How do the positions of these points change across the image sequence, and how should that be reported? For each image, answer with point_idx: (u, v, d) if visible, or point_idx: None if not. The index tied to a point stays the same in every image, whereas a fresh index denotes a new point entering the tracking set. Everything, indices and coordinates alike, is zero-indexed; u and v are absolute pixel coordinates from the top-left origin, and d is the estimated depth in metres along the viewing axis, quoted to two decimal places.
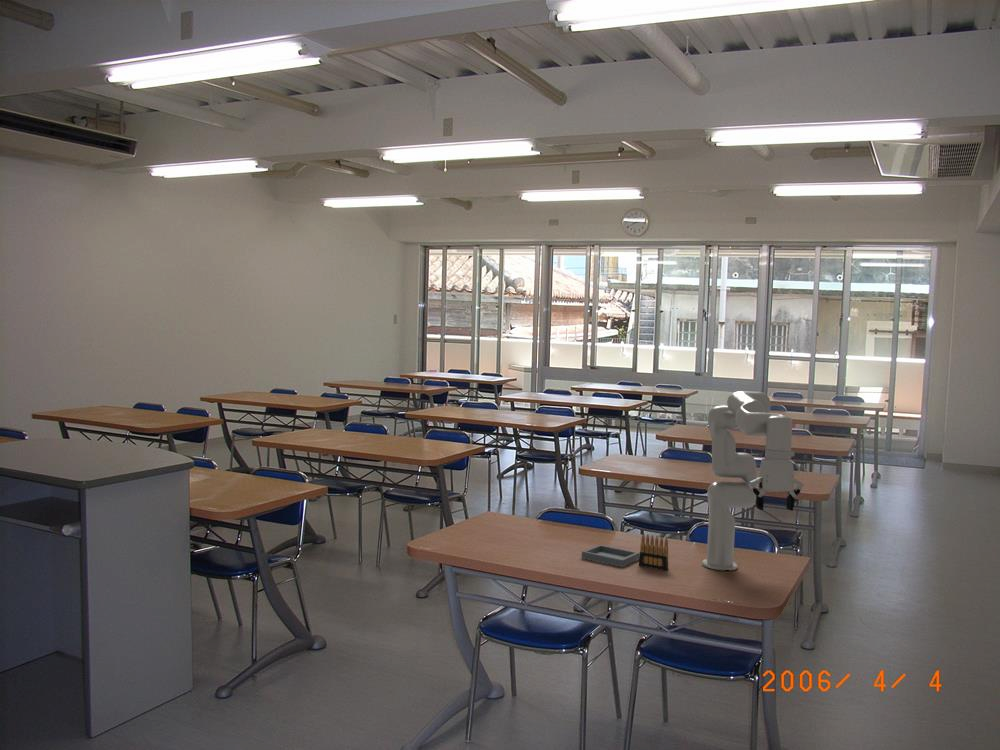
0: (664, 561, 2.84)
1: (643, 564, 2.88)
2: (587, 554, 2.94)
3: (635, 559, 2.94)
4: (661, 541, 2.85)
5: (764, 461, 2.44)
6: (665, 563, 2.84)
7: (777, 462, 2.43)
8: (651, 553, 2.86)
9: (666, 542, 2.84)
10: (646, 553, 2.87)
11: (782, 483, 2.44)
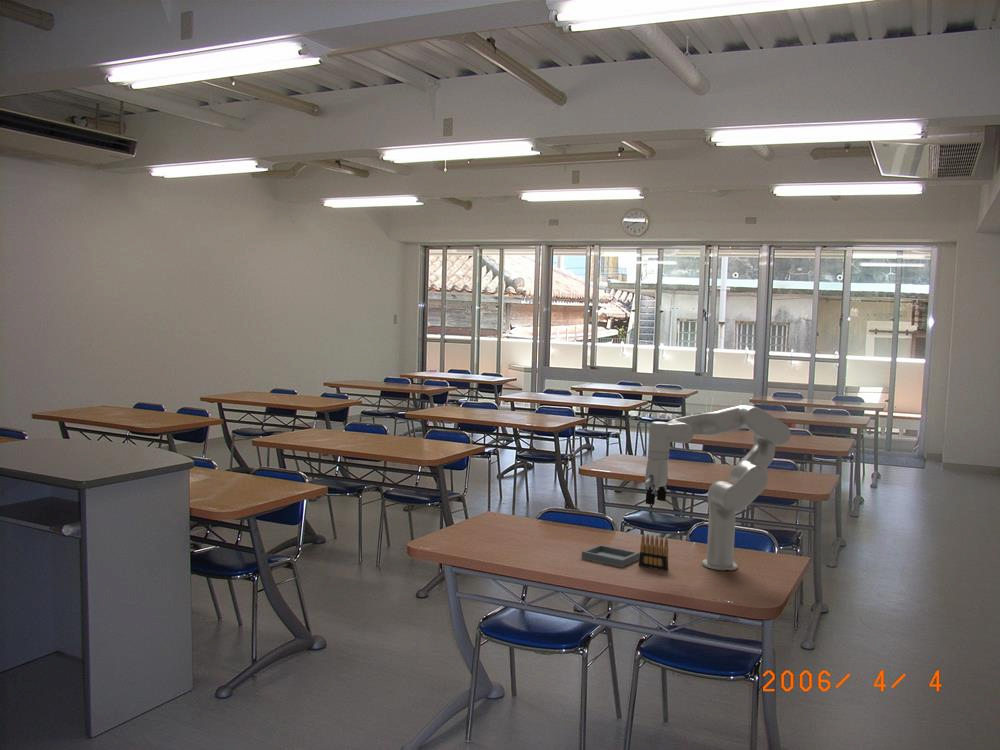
0: (664, 561, 2.84)
1: (643, 564, 2.88)
2: (587, 554, 2.94)
3: (635, 559, 2.94)
4: (661, 541, 2.85)
5: (654, 462, 2.81)
6: (665, 563, 2.84)
7: (663, 462, 2.83)
8: (651, 553, 2.86)
9: (666, 542, 2.84)
10: (646, 553, 2.87)
11: (664, 479, 2.85)
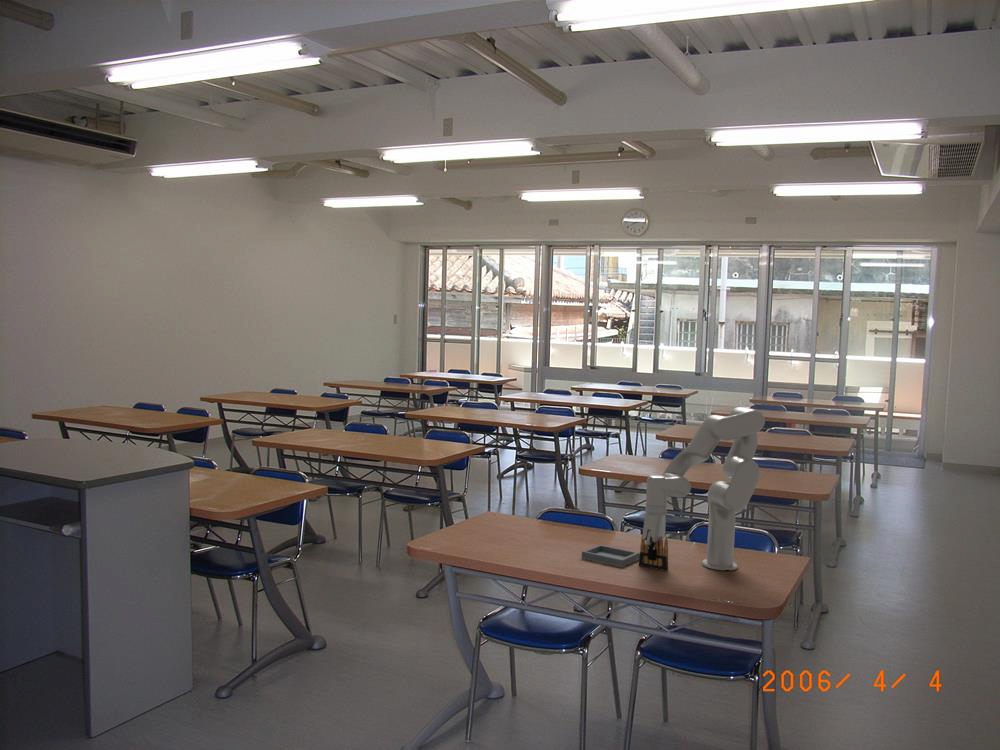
0: (664, 561, 2.84)
1: (643, 564, 2.88)
2: (587, 554, 2.94)
3: (635, 559, 2.94)
4: (661, 541, 2.85)
5: (652, 516, 2.82)
6: (665, 563, 2.84)
7: (660, 516, 2.84)
8: None
9: (666, 542, 2.84)
10: (646, 553, 2.87)
11: (661, 532, 2.86)
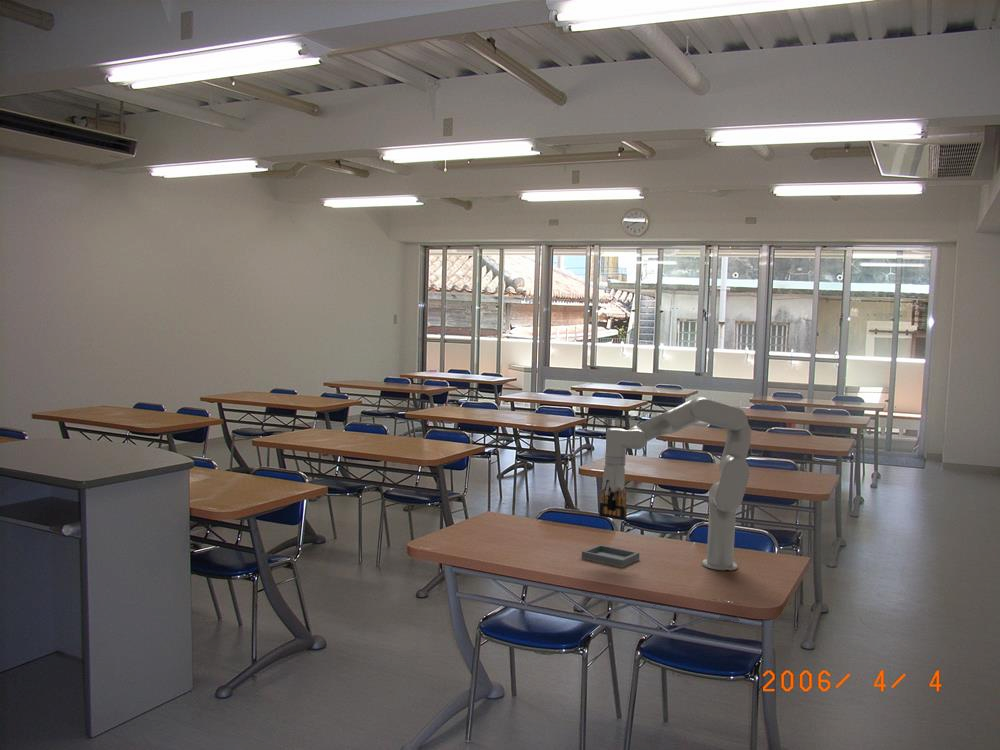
0: (622, 511, 2.92)
1: (603, 514, 2.97)
2: (587, 554, 2.94)
3: (635, 559, 2.94)
4: (619, 492, 2.93)
5: (611, 467, 2.90)
6: (623, 513, 2.92)
7: (619, 467, 2.92)
8: None
9: (624, 493, 2.92)
10: (606, 504, 2.96)
11: (620, 483, 2.94)
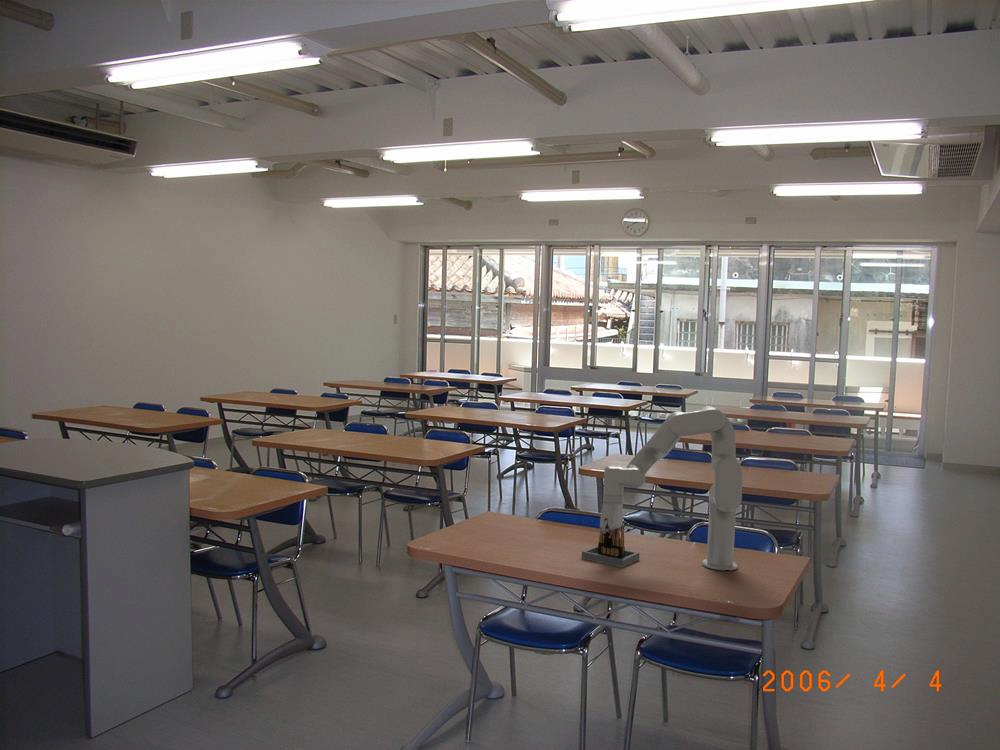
0: (620, 551, 2.92)
1: (601, 554, 2.97)
2: (587, 554, 2.94)
3: (635, 559, 2.94)
4: (618, 532, 2.94)
5: (609, 506, 2.91)
6: (621, 553, 2.92)
7: (617, 505, 2.93)
8: None
9: (622, 533, 2.92)
10: None
11: (618, 521, 2.95)
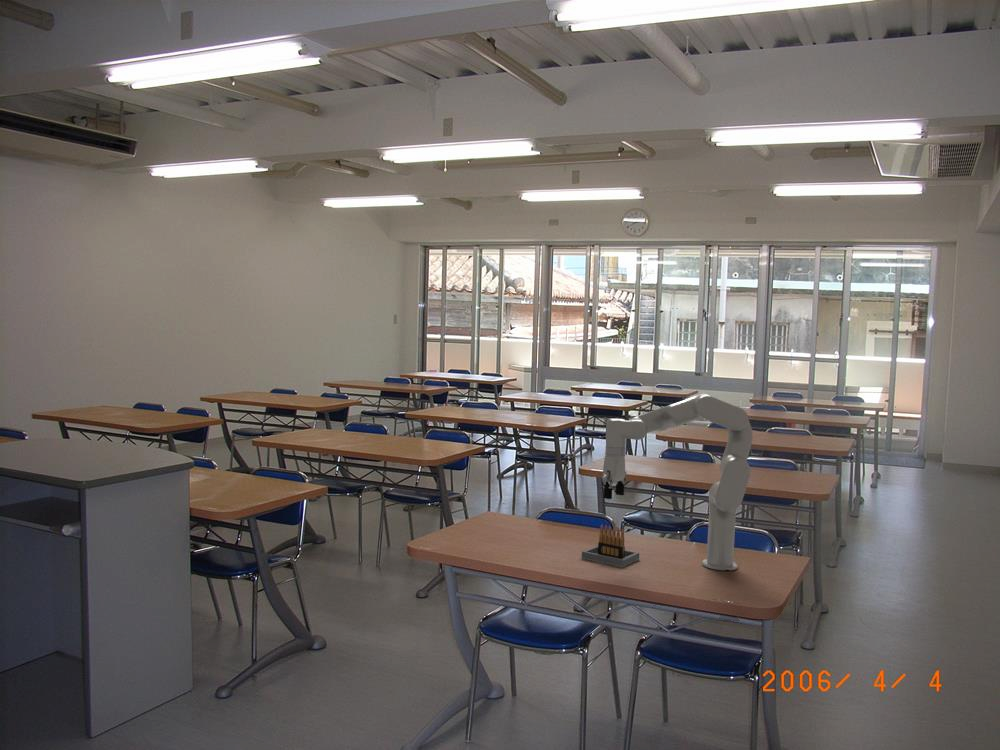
0: (620, 551, 2.92)
1: (601, 554, 2.97)
2: (587, 554, 2.94)
3: (635, 559, 2.94)
4: (618, 532, 2.94)
5: (611, 458, 2.90)
6: (621, 553, 2.92)
7: (619, 457, 2.92)
8: (608, 543, 2.96)
9: (622, 533, 2.93)
10: (604, 543, 2.97)
11: (621, 474, 2.94)
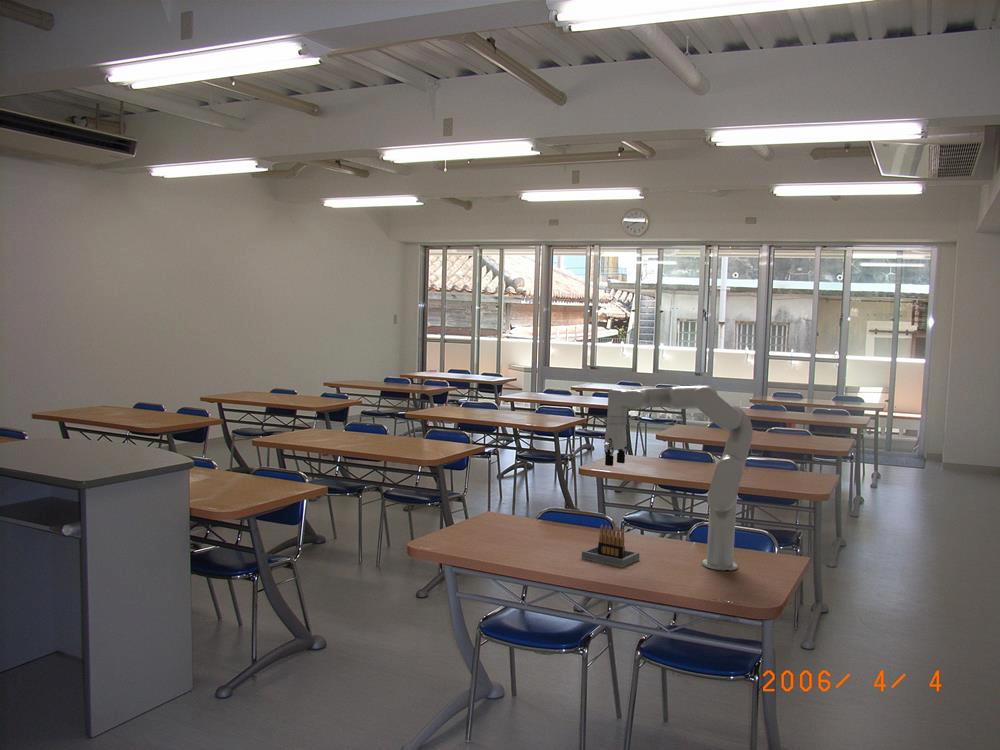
0: (620, 551, 2.92)
1: (601, 554, 2.97)
2: (587, 554, 2.94)
3: (635, 559, 2.94)
4: (618, 532, 2.94)
5: (612, 426, 3.01)
6: (621, 553, 2.92)
7: (621, 426, 3.03)
8: (608, 543, 2.96)
9: (622, 533, 2.93)
10: (604, 543, 2.97)
11: (622, 442, 3.05)
